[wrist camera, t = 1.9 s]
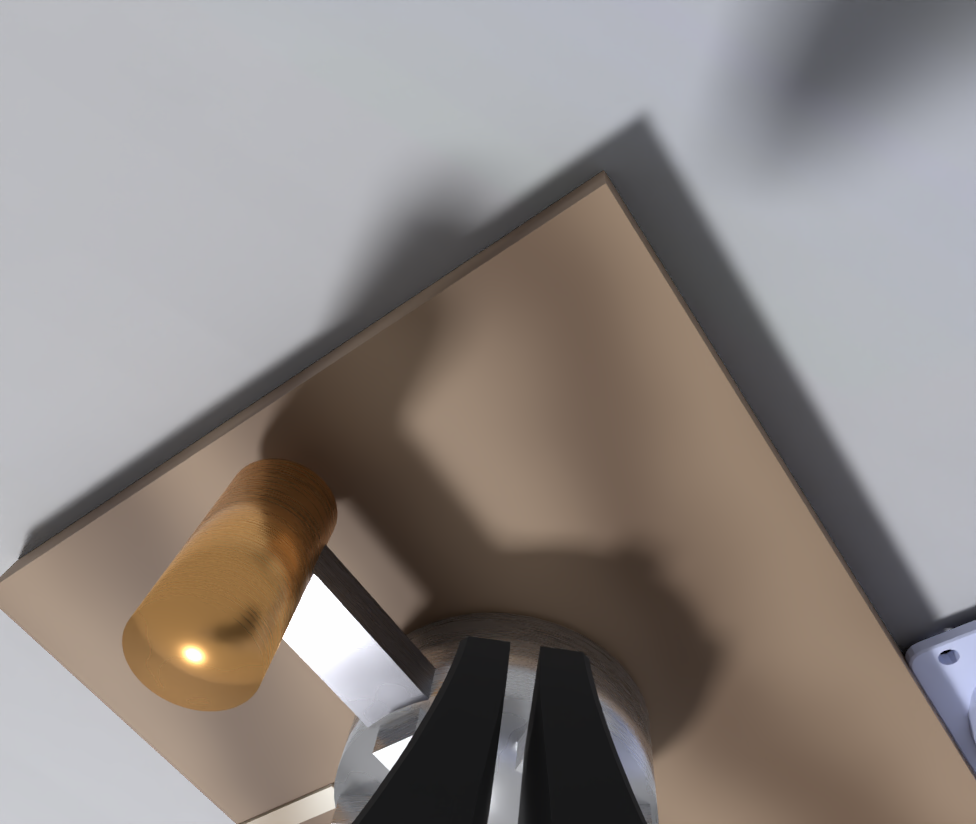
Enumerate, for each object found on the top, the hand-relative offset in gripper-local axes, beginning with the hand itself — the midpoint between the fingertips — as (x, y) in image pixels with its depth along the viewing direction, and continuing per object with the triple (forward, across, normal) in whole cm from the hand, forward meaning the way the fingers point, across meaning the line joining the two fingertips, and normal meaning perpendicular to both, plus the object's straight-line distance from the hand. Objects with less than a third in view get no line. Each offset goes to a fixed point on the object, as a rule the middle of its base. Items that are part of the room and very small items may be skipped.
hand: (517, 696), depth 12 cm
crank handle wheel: (+8, +2, +7) cm, 10 cm away
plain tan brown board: (+9, 0, +9) cm, 13 cm away
